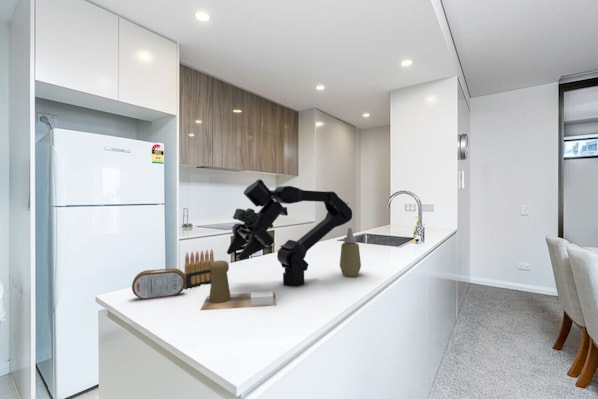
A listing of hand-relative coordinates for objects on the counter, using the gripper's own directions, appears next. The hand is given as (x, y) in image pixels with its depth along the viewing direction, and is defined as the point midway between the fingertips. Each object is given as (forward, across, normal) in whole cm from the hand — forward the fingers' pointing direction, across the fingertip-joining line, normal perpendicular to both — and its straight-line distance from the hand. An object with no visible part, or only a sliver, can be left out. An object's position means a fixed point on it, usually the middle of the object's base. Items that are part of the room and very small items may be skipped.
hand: (233, 256), depth 85 cm
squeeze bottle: (-23, 0, +42) cm, 49 cm away
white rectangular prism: (+5, +9, +12) cm, 16 cm away
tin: (+22, -16, -3) cm, 27 cm away
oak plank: (+9, +4, +10) cm, 14 cm away
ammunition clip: (+12, -21, +6) cm, 25 cm away
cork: (+12, 0, +6) cm, 13 cm away
